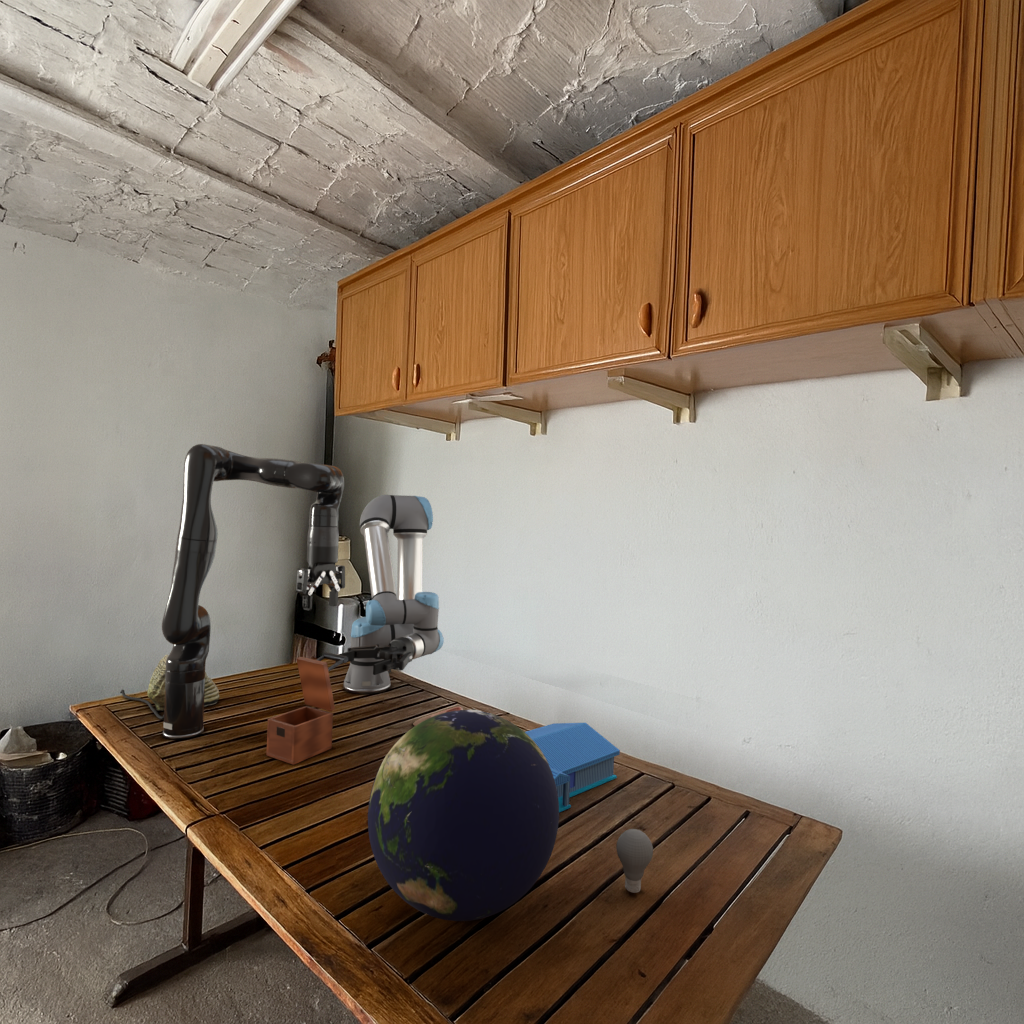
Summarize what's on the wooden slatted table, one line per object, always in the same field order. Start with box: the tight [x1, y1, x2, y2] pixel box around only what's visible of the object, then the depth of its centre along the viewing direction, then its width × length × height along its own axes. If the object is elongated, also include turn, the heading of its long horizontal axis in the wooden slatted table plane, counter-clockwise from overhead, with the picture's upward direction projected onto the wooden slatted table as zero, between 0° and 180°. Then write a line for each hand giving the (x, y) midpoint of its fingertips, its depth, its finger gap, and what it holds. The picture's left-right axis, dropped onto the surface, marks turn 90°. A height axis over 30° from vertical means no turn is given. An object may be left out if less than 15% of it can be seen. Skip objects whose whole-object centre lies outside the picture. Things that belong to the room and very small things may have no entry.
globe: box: [367, 709, 560, 922], centre depth 100 cm, size 30×30×30 cm
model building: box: [524, 722, 621, 813], centre depth 143 cm, size 39×24×10 cm, turn 132°
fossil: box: [147, 654, 221, 712], centre depth 185 cm, size 9×18×15 cm, turn 132°
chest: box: [265, 705, 334, 766], centre depth 156 cm, size 12×9×9 cm
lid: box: [296, 651, 348, 713], centre depth 163 cm, size 13×9×9 cm
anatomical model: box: [412, 706, 464, 727], centre depth 179 cm, size 13×4×12 cm
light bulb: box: [615, 828, 654, 894], centre depth 106 cm, size 6×6×10 cm
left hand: (320, 607), depth 160 cm, fingers open, 8 cm apart
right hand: (354, 664), depth 171 cm, fingers open, 13 cm apart
